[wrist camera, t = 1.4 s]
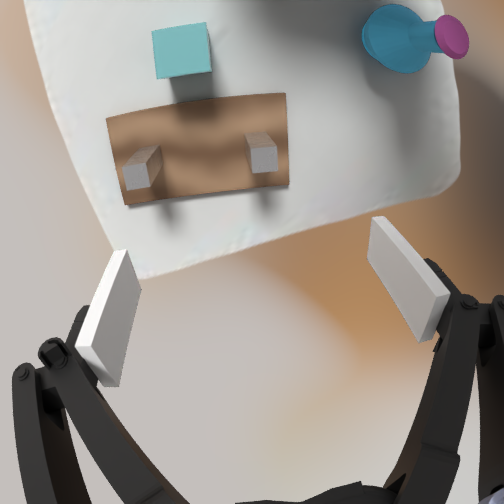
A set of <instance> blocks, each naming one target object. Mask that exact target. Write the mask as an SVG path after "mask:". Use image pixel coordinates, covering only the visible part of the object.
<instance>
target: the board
mask: <svg viewBox="0 0 504 504" xmlns="http://www.w3.org/2000/svg"><path fill="white" fill-rule="evenodd" d="M106 122H107V128H108V133H109V138H110V143H111V148H112V153H113V158H114V162H115V167H116V171H117V175H118V180H119V184H120V188H121V192H122V196H123V200H124V204H125V205H129V204H135V203H141V202H147V201H154V200H160V199H167V198H174V197H181V196H189V195H196V194H204V193H212V192H220V191H229V190H238V189H247V188H257V187H267V186H277V185H289V161H288V134H287V112H286V93H269V94H254V95H241V96H230V97H221V98H212V99H204V100H197V101H190V102H183V103H177V104H171V105H165V106H160V107H154V108H149V109H144V110H139V111H135V112H130V113H125V114H121V115H117V116H113V117H109V118H106ZM254 132H266V133H267V134H268V135H269V137H270V138H271V139H272V141H273V142H274V143H275V144H276V146H277V157H278V171H273V172H262V173H252V171H251V168H250V165H249V162H248V158H247V155H246V149H245V138H244V133H254ZM154 145H160V150H161V156H162V162H163V165H162V167H161V169H160V170H159V172H158V174H157V176H156V177H155V179H154V181H153V183H152V185H151V187H146V188H140V189H134V190H128V191H127V188H126V184H125V180H124V175H123V171H122V166H123V165H124V164H125V163H126V162H127V161H128V160H129V159H130V158H131V157H132V156H133V155H134V154H135V152H136V151H137V150H138V149H139V148H143V147H149V146H154Z"/></svg>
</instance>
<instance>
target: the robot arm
mask: <svg viewBox="0 0 504 504" xmlns="http://www.w3.org/2000/svg"><path fill="white" fill-rule="evenodd" d="M367 260H368V262H369V263H370V265H371V266H372V268H373V269H374V271H375V272H376V273H377V275H378V277H379V278H380V280H381V282H382V283H383V285H384V286H385V288H386V289H387V291H388V293H389V294H390V296H391V297H392V299H393V301H394V302H395V304H396V306H397V307H398V309H399V310H400V312H401V314H402V315H403V317H404V319H405V320H406V322H407V324H408V326H409V327H410V329H411V330H412V332H413V334H414V336H415V338H416V339H417V341H418V343H421V342H424V341H427V340H431V339H432V338H433V336H434V334H435V331H436V330H437V332H438V333H439V335H440V337H439V339H438V341H437V343H436V345H435V348H434V350H433V352H435V354H434V358H433V362H432V365H431V369H430V373H429V376H428V379H427V383H426V386H425V390H424V393H423V396H422V399H421V402H420V405H419V408H418V411H417V414H416V417H415V419H414V422H413V425H412V427H411V430H410V432H409V435H408V438H407V440H406V443H405V445H404V448H403V450H402V452H401V454H400V457H399V459H398V461H397V464H396V466H395V468H394V469H393V471H392V473H391V474H390V476H389V477H388V479H387V480H386V482H385V484H384V486H383V488H382V487H377V486H367V485H362V483H361V481H359V482H355V483H352V484H348V485H344V486H340V487H336V488H332V489H330V490H327V491H325V492H323V493H321V494H319V495H317V496H314V497H312V498H310V499H308V500H305V501H303V502H284V501H272V500H262V501H254V502H242V503H235V504H445V503H446V500H447V498H448V496H449V493H450V490H451V487H452V484H453V482H454V479H455V476H456V473H457V470H458V467H459V463H460V455H458V454H457V451H458V446H459V442H460V439H461V436H462V432H463V428H464V424H465V419H466V415H467V410H468V406H469V401H470V396H471V391H472V385H473V378H474V373H475V366H476V368H477V378H478V390H479V406H480V463H479V482H478V495H479V503H478V504H504V296H503V295H497V296H495V297H494V299H493V301H492V303H491V304H482V303H479V302H478V300H476V299H475V298H474V297H473V296H470V295H467V294H461V292H460V291H459V290H458V289H457V288H456V286H455V285H454V284H453V283H452V282H451V280H450V279H449V278H448V277H447V275H446V274H445V273H444V272H442V269H441V268H439V266H438V265H437V264H436V263H435V262H433V261H432V260H430V259H429V258H427V259H422V258H421V256H420V255H419V254H418V253H417V252H416V251H415V249H414V248H413V247H412V246H411V245H410V244H409V243H408V242H407V240H406V239H405V238H404V237H403V236H402V235H401V234H400V233H399V232H398V230H396V228H395V227H394V226H393V225H392V224H391V223H390V222H389V221H388V220H387V219H386V218H385V217H384V216H378V217H372V220H371V230H370V238H369V247H368V254H367ZM141 290H142V289H141V287H140V284H139V281H138V279H137V276H136V273H135V271H134V268H133V265H132V262H131V260H130V257H129V254H128V251H127V249H125V250H119V251H114V253H113V255H112V257H111V259H110V261H109V263H108V266H107V268H106V270H105V272H104V274H103V277H102V279H101V281H100V284H99V286H98V288H97V291H96V293H95V295H94V298H93V300H92V303H91V305H86V306H83V307H82V308H81V310H80V311H79V312H78V313H77V315H76V318H75V320H74V323H73V325H72V327H71V330H70V332H69V335H68V338H67V340H66V342H65V343H64V342H63V341H62V340H61V339H60V338H57V337H55V338H51V339H49V340H46V341H45V342H44V343H43V344H42V345H41V347H40V348H39V351H38V357H39V359H40V360H41V362H42V363H43V364H44V365H45V367H42V368H38V369H35V368H34V367H33V365H31V364H30V363H23V364H21V365H20V366H18V367H17V368H16V369H15V371H14V373H13V376H12V399H13V417H14V429H15V438H16V447H17V454H18V461H19V467H20V472H21V478H22V483H23V488H24V493H25V497H26V501H27V504H92V503H91V500H90V497H89V495H88V492H87V489H86V486H85V483H84V480H83V477H82V473H81V470H80V467H79V464H78V460H77V457H76V453H75V449H74V446H73V442H72V438H71V434H70V429H69V425H68V420H67V416H66V411H65V408H66V410H67V412H68V414H69V416H70V418H71V420H72V422H73V424H74V426H75V427H76V429H77V431H78V433H79V435H80V436H81V438H82V440H83V442H84V443H85V445H86V447H87V449H88V450H89V452H90V454H91V455H92V457H93V458H94V460H95V462H96V463H97V465H98V466H99V468H100V469H101V471H102V473H103V474H104V476H105V477H106V479H107V480H108V482H109V483H110V484H111V486H112V487H113V489H114V490H115V491H116V493H117V494H118V496H119V497H120V498H121V500H122V501H123V502H124V504H190V503H189V502H188V501H187V500H185V499H184V498H183V496H182V495H181V494H180V493H179V492H178V491H177V490H176V489H175V488H174V487H173V486H172V485H171V484H170V483H169V481H168V480H167V479H166V478H165V477H164V476H163V475H162V474H161V473H160V471H159V470H158V469H157V468H156V467H155V465H153V463H152V462H151V461H150V460H149V458H148V457H147V456H146V455H145V453H144V452H143V451H142V450H141V448H140V447H139V446H138V445H137V444H136V442H135V441H134V439H133V438H132V437H131V435H130V434H129V433H128V431H127V430H126V429H125V428H124V426H123V425H122V423H121V422H120V420H119V419H118V418H117V416H116V415H115V413H114V412H113V410H112V409H111V407H110V406H109V404H108V403H107V401H106V400H105V398H104V397H103V395H102V394H101V392H100V391H99V389H98V388H97V387H96V386H97V382H98V380H99V381H100V382H101V384H102V385H103V386H104V387H119V384H120V379H121V373H122V369H123V364H124V359H125V355H126V350H127V346H128V342H129V337H130V333H131V329H132V325H133V321H134V317H135V313H136V309H137V305H138V301H139V297H140V293H141Z"/></svg>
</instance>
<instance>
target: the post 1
mask: <svg viewBox="0 0 504 504" xmlns="http://www.w3.org/2000/svg"><path fill="white" fill-rule="evenodd" d="M162 165H163V162H162V156H161V150H160V145H154V146H149V147H143V148H139V149H138V150H137V151H136V152H135V154H134V155H133V156H132V157H131V158H130V159H129V160H128V161H127V162H126V163H125V164H124V165H123V166H122V171H123V175H124V180H125V184H126V188H127V191H128V190H134V189H140V188H146V187H151V185H152V183H153V181H154V179H155V177H156V176H157V174H158V172H159V170H160V169H161V167H162Z"/></svg>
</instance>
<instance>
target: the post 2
mask: <svg viewBox="0 0 504 504" xmlns="http://www.w3.org/2000/svg"><path fill="white" fill-rule="evenodd" d="M244 138H245V149H246V155H247V158H248V162H249V165H250V168H251V171H252V173H262V172H273V171H278V157H277V146H276V144H275V143H274V142H273V141H272V139H271V138H270V137H269V135H268V134H267V133H266V132H254V133H244Z"/></svg>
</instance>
